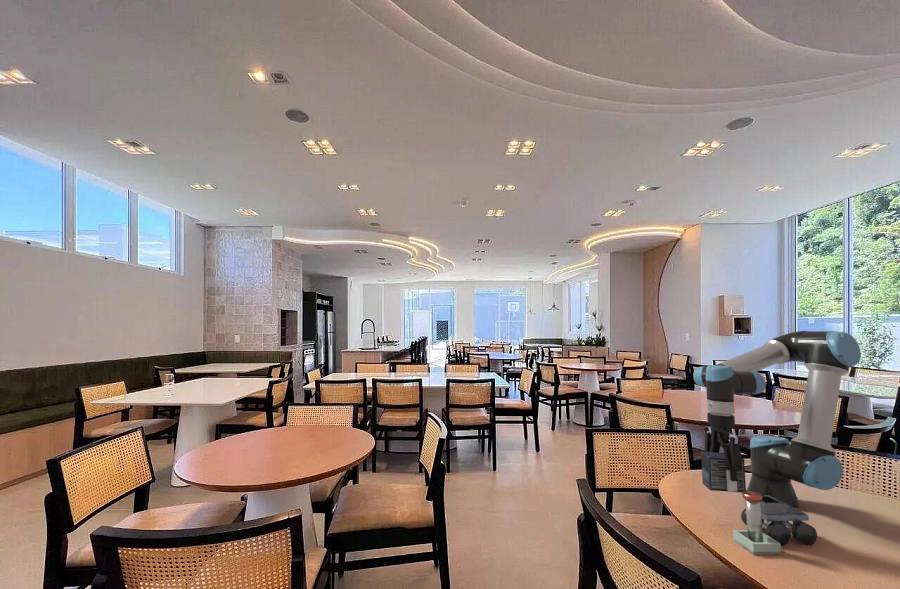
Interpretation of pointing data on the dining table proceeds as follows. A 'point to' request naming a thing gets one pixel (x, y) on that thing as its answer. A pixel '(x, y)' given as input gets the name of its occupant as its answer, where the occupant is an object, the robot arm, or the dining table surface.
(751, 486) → the robot arm
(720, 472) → the small box
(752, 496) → the pin
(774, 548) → the tray
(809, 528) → the trolley
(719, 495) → the dining table surface
